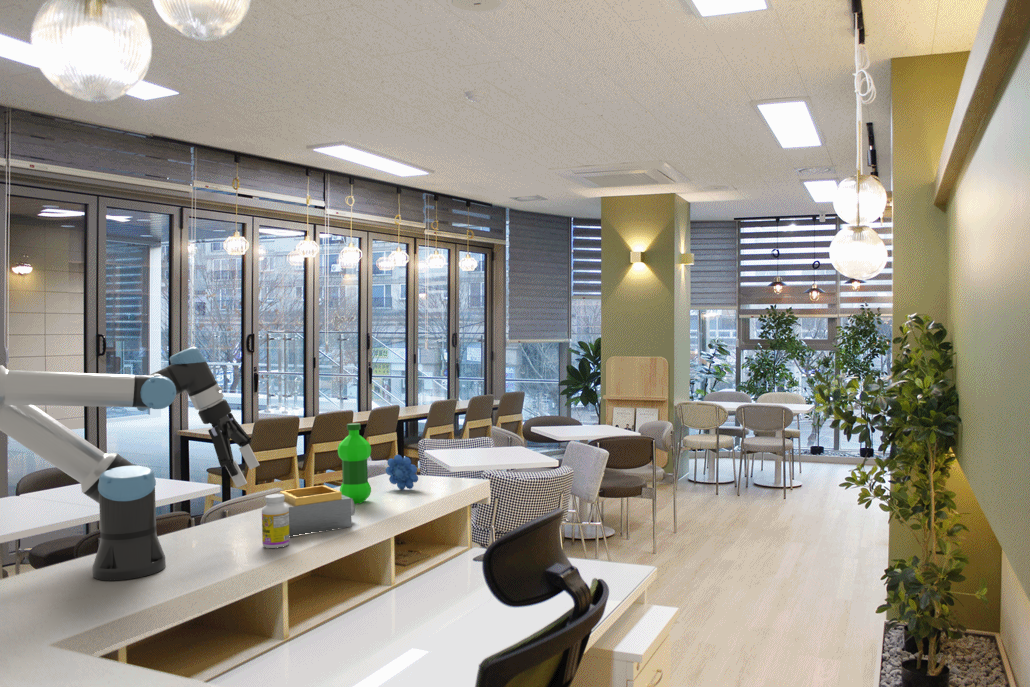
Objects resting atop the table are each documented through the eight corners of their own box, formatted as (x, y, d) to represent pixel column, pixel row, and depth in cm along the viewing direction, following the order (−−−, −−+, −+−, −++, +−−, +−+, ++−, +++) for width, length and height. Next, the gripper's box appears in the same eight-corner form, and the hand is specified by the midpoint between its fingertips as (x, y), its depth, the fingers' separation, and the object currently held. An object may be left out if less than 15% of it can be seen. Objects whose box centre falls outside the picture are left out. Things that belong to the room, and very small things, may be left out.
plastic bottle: (357, 506, 246) (355, 426, 246) (332, 503, 252) (330, 425, 251) (378, 500, 255) (376, 422, 254) (354, 497, 260) (352, 421, 260)
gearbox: (287, 537, 210) (286, 500, 210) (271, 527, 222) (270, 492, 222) (361, 525, 222) (360, 489, 222) (342, 516, 234) (341, 482, 234)
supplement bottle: (259, 545, 204) (258, 495, 203) (285, 540, 207) (283, 491, 207) (266, 550, 198) (265, 499, 198) (293, 546, 201) (291, 496, 201)
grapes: (381, 491, 269) (380, 456, 269) (388, 487, 276) (387, 453, 275) (414, 492, 267) (413, 456, 266) (420, 488, 273) (419, 453, 273)
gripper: (210, 411, 192) (250, 487, 196) (237, 387, 216) (272, 454, 221) (181, 424, 192) (222, 499, 196) (211, 398, 216) (247, 465, 220)
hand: (248, 476), depth 208 cm, fingers open, 13 cm apart
